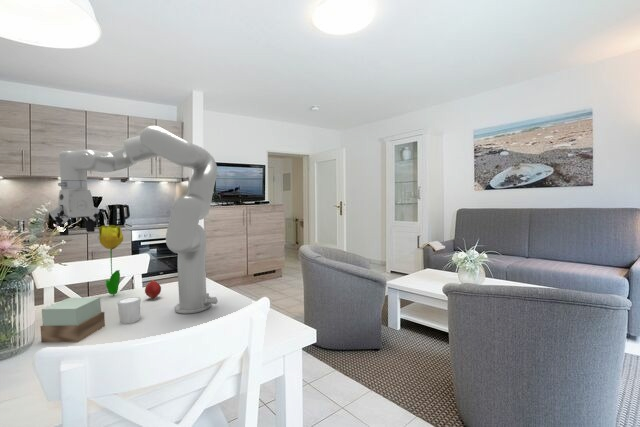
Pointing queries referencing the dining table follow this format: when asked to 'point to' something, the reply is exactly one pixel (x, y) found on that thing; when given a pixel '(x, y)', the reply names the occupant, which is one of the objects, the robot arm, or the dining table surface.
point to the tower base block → (72, 330)
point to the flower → (110, 240)
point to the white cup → (129, 309)
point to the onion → (153, 289)
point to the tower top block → (71, 311)
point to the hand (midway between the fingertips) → (77, 233)
